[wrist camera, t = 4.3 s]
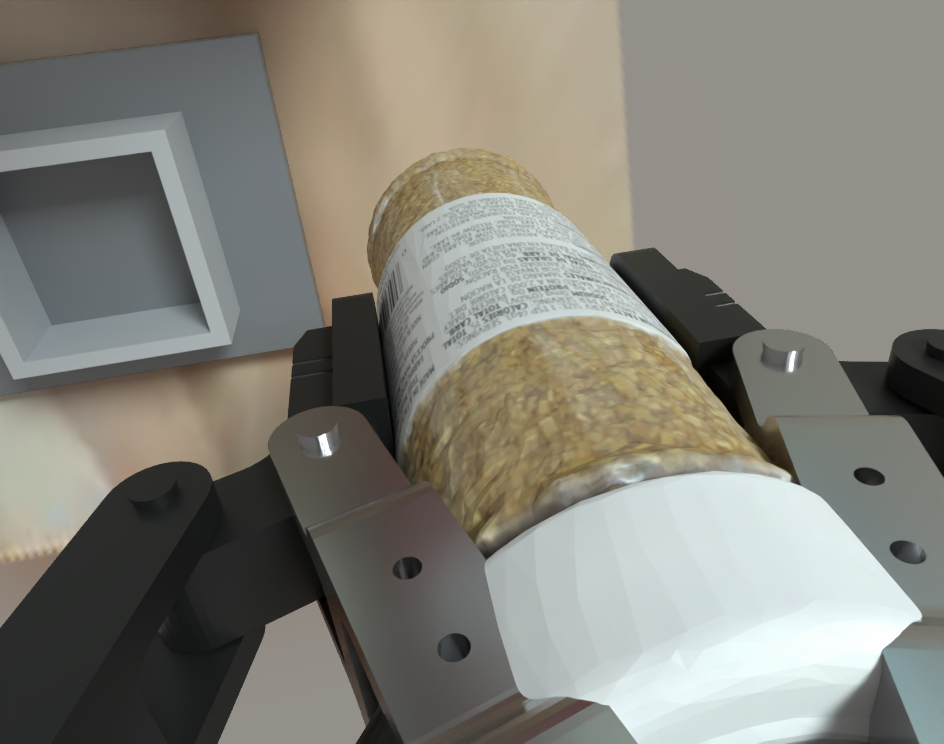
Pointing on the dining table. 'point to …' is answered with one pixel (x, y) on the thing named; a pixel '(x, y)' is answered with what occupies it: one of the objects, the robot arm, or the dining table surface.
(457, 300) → the sprinkles bottle
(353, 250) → the dining table surface
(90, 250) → the bottle stand
